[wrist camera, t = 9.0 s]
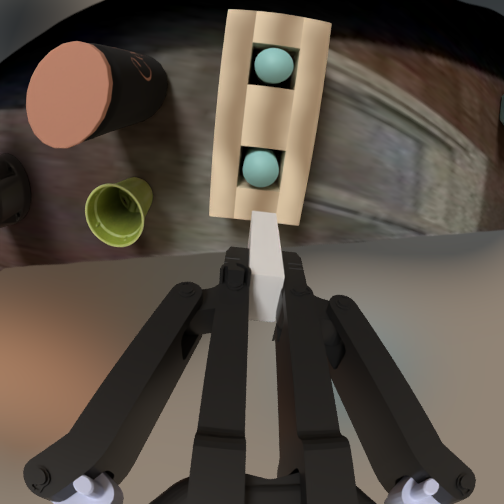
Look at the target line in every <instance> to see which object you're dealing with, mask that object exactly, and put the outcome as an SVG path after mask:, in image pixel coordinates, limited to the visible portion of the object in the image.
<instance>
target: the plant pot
mask: <svg viewBox="0 0 504 504" xmlns="http://www.w3.org/2000/svg"><path fill="white" fill-rule="evenodd" d="M123 198H125V201H126V203H127V204H125V202H124V200H123ZM152 200H153V193H152V190H151V188H150V186H149V185H148V183H147V182H146V181H144V180H142V179H139V178H136V177H132V178H128V179H126V180H123V181H121V182H119V183H116V184H104V185H101V186H99V187H97V188H96V189H94V190H93V191H92V192H91V194H90V195H89V197H88V199H87V202H86V207H85V214H86V219H87V223H88V225H89V227H90V229H91V230H92V232H93V233H94V234H95V236H96V237H97V238H99V239H100V240H101V241H102V242H104V243H106V244H108V245H111V246H115V247H125V246H129V245H131V244H133V243H134V242H135V241H136V240H137V239H138V238H139V237H140V235H141V233H142V231H143V228H144V218H145V216H146V214H147V212H148V210H149V208H150V206H151V204H152Z"/></svg>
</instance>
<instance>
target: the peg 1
mask: <svg viewBox="0 0 504 504" xmlns="http://www.w3.org/2000/svg"><path fill="white" fill-rule="evenodd" d="M293 67H294V65H293V60H292V58H291V56H290V55H289V54H288V53H287V52H285V51H284V50H282V49H278V48H269V49H266V50H263V51H262V52H261V53H259V54H258V56H257V57H256V60H255V73H256V76H257V78H258V80H259V81H260V82H262V83H263V84H266V85H276V84H279V83H280V82H282V81H284V80H286V79H287V78H288V77H289V76H290V75H291V73H292V71H293Z"/></svg>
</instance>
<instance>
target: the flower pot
mask: <svg viewBox="0 0 504 504" xmlns="http://www.w3.org/2000/svg"><path fill="white" fill-rule="evenodd" d="M500 121H501V122H502V124H503V125H504V95H503V96H502V100H501V110H500Z"/></svg>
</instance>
